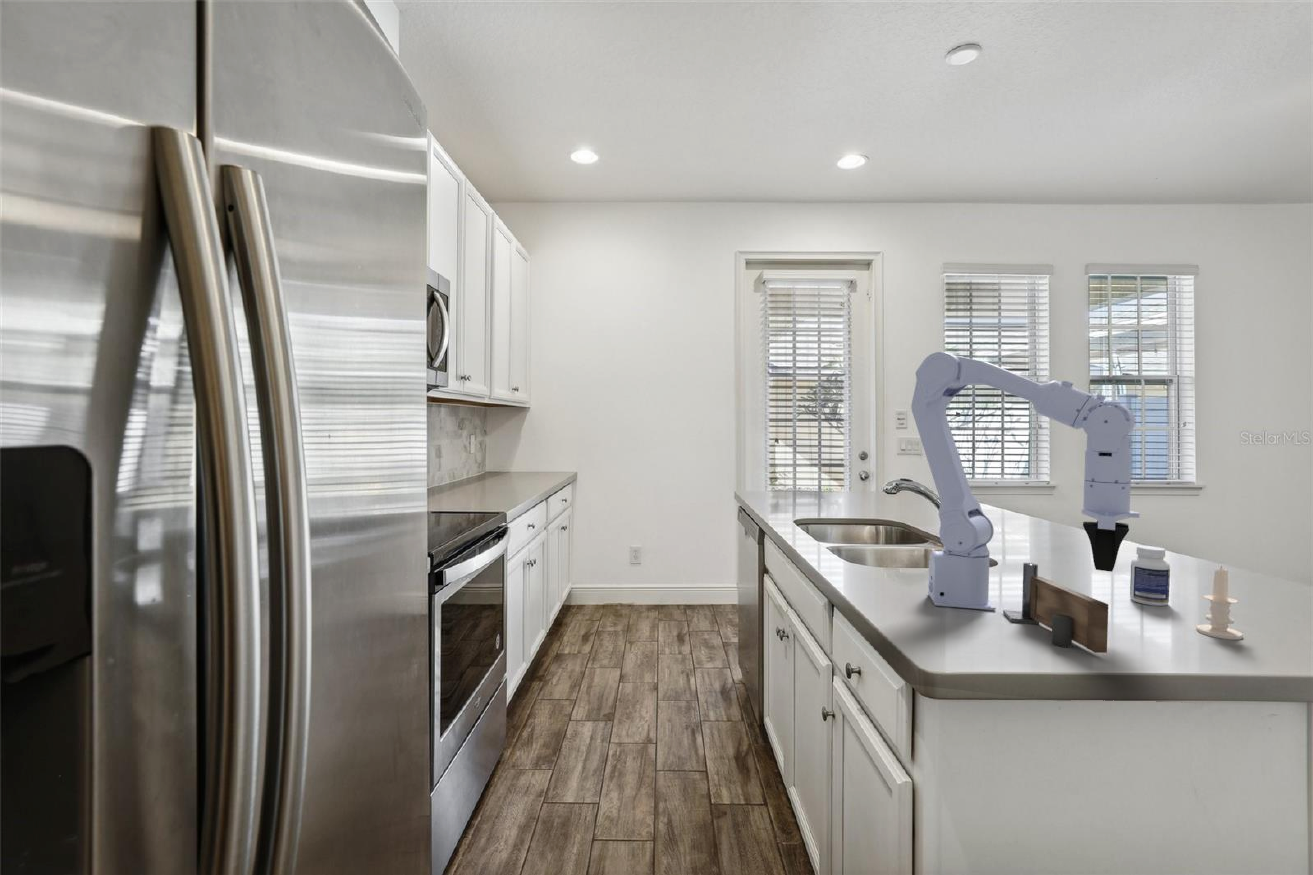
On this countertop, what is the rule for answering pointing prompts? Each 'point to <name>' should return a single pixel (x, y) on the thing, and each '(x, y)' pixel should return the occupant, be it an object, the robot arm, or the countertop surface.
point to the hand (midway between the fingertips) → (1103, 569)
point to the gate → (1071, 612)
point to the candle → (1220, 610)
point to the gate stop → (1062, 630)
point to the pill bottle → (1150, 577)
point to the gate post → (1024, 597)
